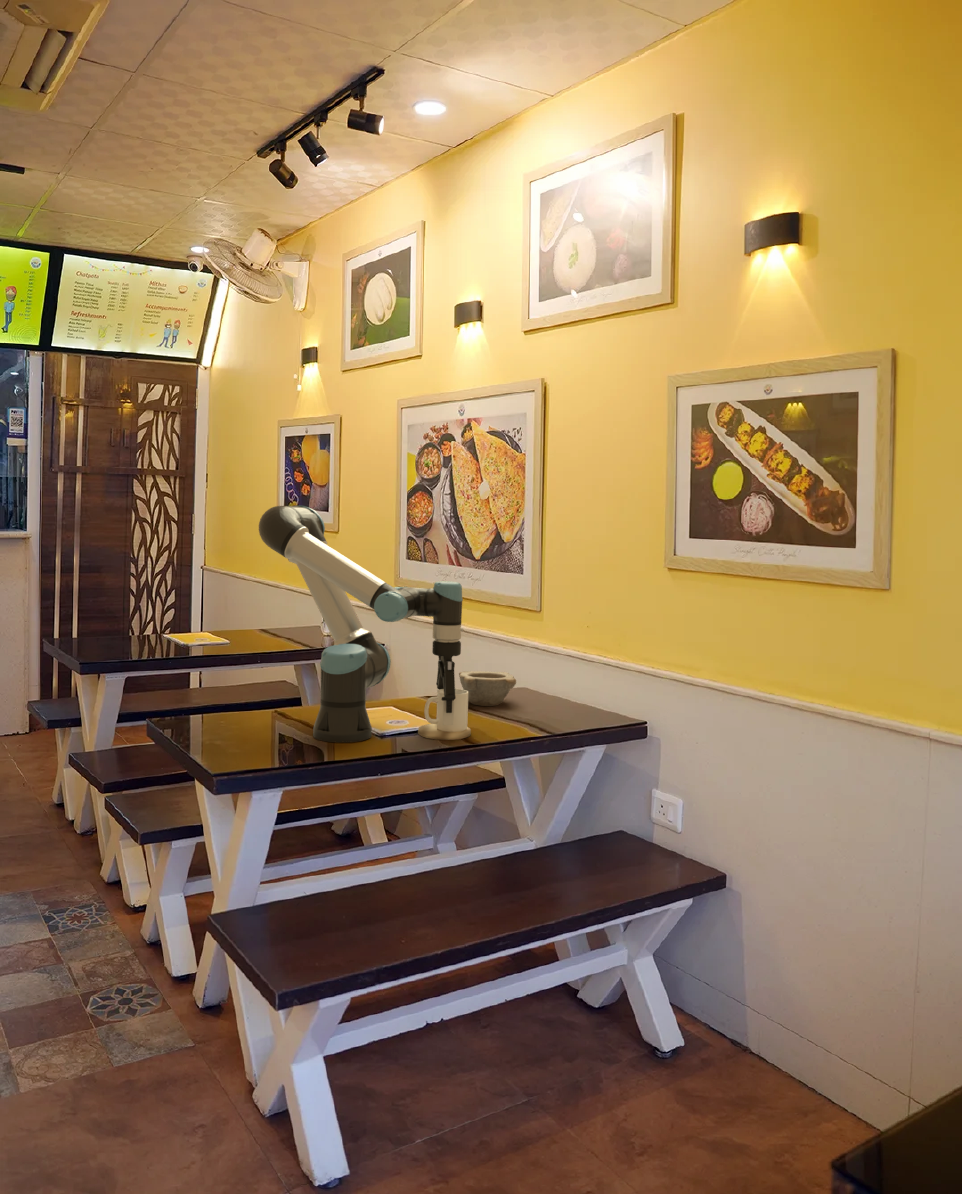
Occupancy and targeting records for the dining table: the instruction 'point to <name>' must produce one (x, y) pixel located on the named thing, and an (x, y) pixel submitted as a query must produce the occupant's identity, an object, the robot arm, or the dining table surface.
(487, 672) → the mortar
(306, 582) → the robot arm
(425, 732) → the disc
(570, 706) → the dining table surface
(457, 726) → the cup
